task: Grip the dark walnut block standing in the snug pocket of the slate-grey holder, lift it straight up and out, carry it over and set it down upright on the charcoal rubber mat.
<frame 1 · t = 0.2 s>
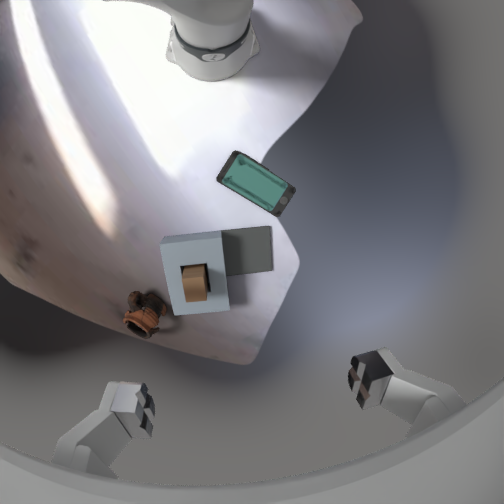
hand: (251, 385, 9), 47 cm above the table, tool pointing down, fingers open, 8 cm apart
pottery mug: (145, 305, 60), on the table
smartphone: (256, 183, 54), on the table
rubber mat: (246, 250, 58), on the table
pocket holder: (197, 269, 58), on the table
walnut block: (197, 270, 58), point 1 cm above the table, touching pocket holder
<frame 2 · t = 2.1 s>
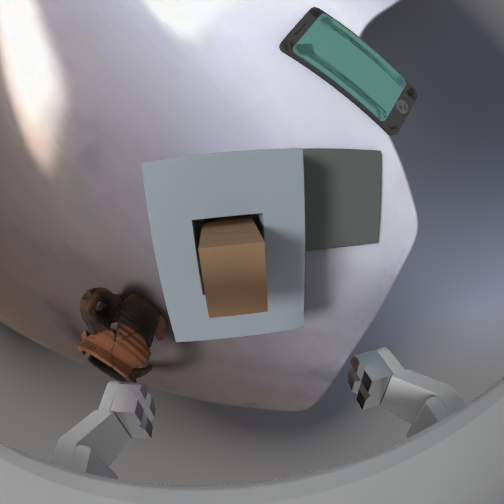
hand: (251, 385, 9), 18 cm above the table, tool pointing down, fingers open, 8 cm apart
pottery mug: (124, 317, 28), on the table
smartphone: (353, 69, 22), on the table
rubber mat: (336, 198, 26), on the table
pocket holder: (228, 237, 26), on the table
walnut block: (228, 239, 26), point 1 cm above the table, touching pocket holder
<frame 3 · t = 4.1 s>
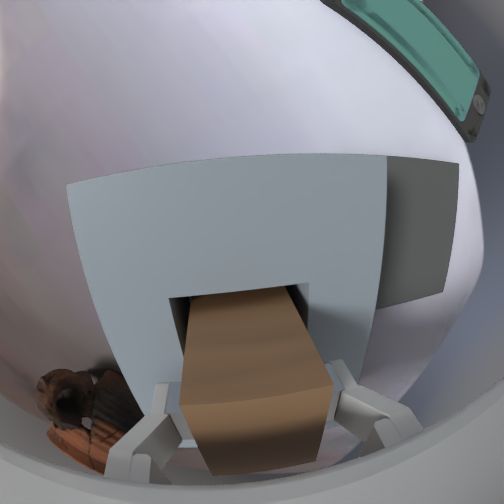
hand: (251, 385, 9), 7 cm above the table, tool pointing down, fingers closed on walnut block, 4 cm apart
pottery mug: (103, 393, 18), on the table
smartphone: (418, 45, 12), on the table
rubber mat: (402, 233, 16), on the table
pocket holder: (237, 299, 16), on the table
walnut block: (237, 304, 15), point 1 cm above the table, touching gripper, pocket holder
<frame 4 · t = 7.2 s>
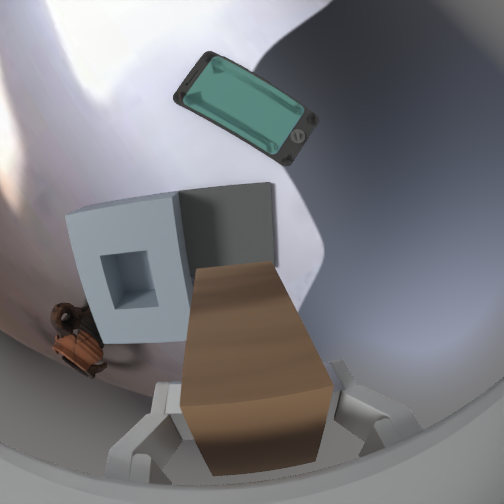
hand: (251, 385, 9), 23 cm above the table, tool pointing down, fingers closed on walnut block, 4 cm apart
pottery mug: (88, 325, 33), on the table
smartphone: (247, 106, 27), on the table
rubber mat: (228, 229, 31), on the table
pocket holder: (140, 264, 31), on the table
walnut block: (237, 305, 15), point 17 cm above the table, touching gripper
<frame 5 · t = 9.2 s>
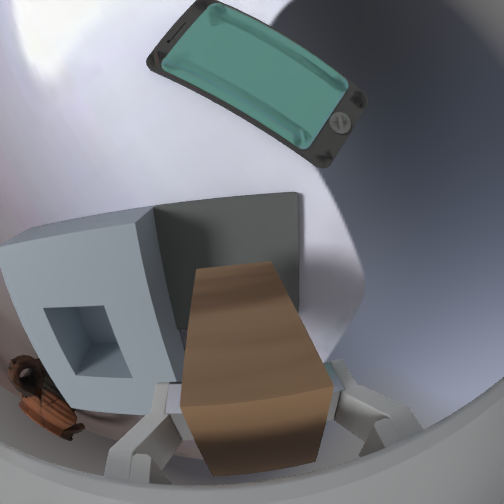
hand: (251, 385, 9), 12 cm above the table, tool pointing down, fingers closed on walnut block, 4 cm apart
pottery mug: (58, 375, 23), on the table
smartphone: (261, 75, 16), on the table
rubber mat: (231, 264, 20), on the table
pocket holder: (107, 309, 20), on the table
walnut block: (238, 305, 15), point 5 cm above the table, touching gripper
when the fingers open (8 cm above the table, at t = 10.7 s): walnut block drops 1 cm, resting on rubber mat.
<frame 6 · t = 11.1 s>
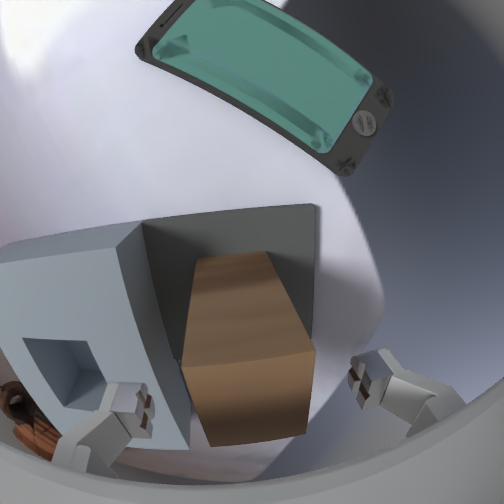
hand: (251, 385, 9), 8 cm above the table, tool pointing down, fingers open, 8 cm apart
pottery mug: (52, 400, 20), on the table
smartphone: (272, 65, 13), on the table
rubber mat: (235, 288, 17), on the table
pocket holder: (95, 335, 17), on the table
walnut block: (235, 292, 17), point 1 cm above the table, touching rubber mat
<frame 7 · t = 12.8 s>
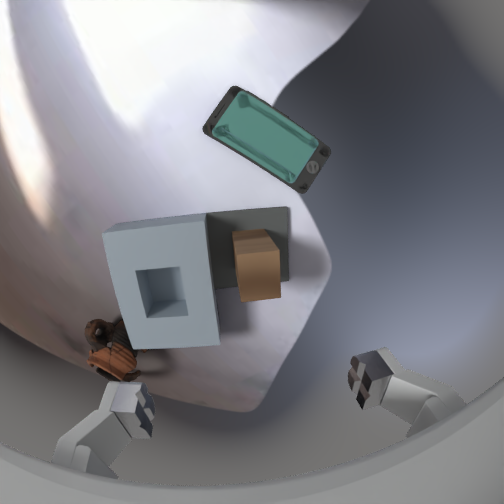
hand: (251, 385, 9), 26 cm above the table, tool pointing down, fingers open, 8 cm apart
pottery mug: (118, 338, 38), on the table
smartphone: (268, 138, 32), on the table
rubber mat: (249, 247, 35), on the table
pocket holder: (168, 277, 35), on the table
walnut block: (249, 249, 35), point 1 cm above the table, touching rubber mat
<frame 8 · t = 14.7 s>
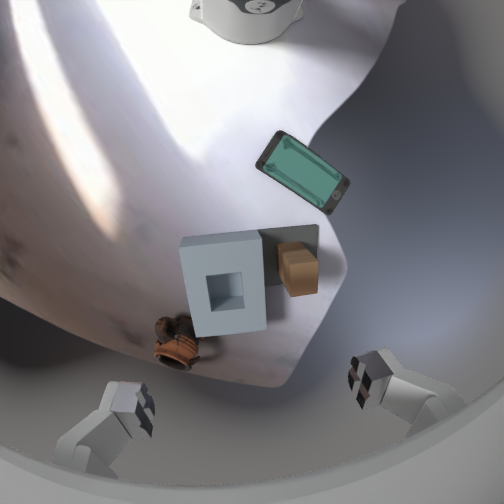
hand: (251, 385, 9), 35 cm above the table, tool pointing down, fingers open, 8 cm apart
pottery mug: (177, 331, 49), on the table
smartphone: (304, 172, 42), on the table
rubber mat: (287, 255, 46), on the table
pocket holder: (224, 278, 46), on the table
walnut block: (288, 256, 46), point 1 cm above the table, touching rubber mat
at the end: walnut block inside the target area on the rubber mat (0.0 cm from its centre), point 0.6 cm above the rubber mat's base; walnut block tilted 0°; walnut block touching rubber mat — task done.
